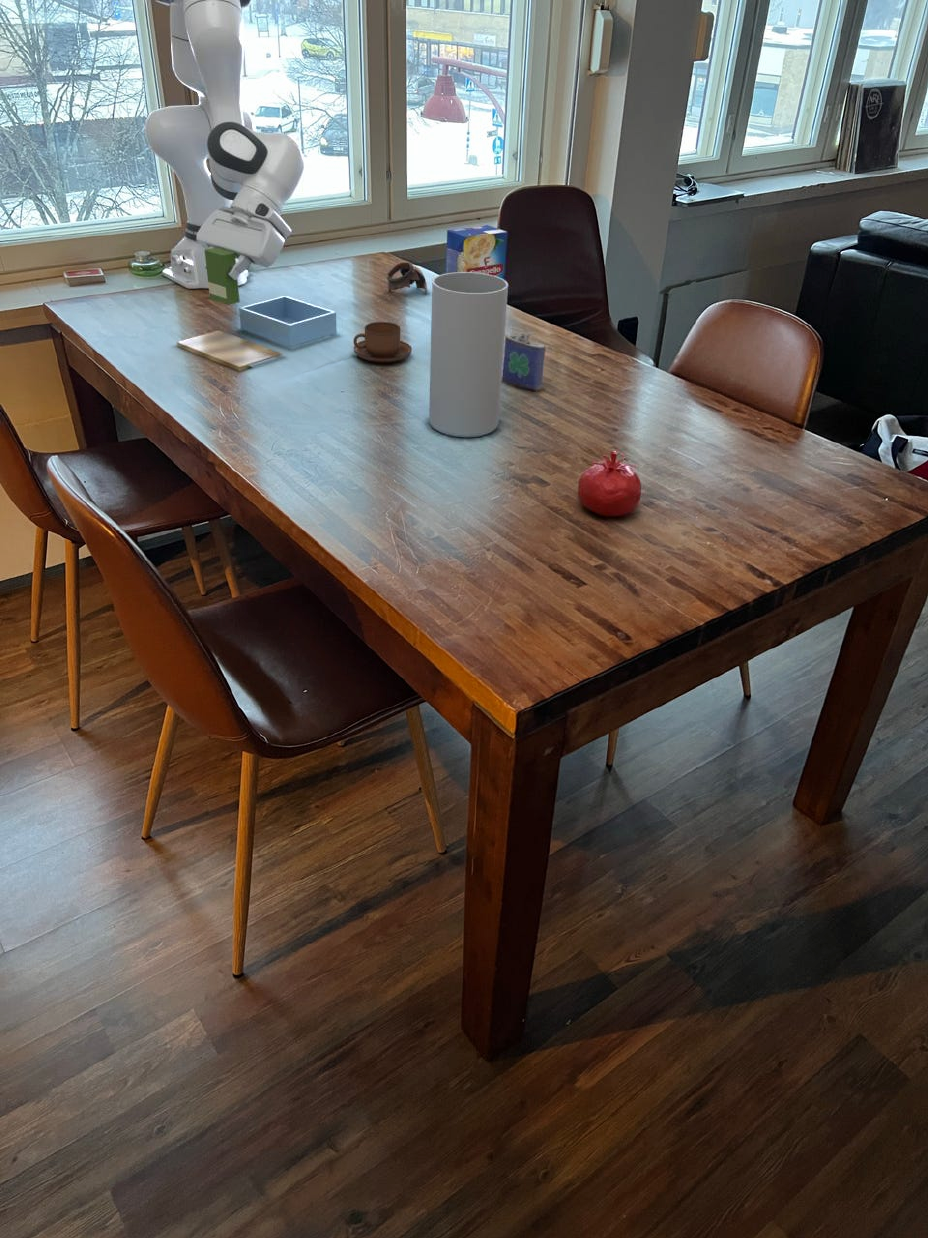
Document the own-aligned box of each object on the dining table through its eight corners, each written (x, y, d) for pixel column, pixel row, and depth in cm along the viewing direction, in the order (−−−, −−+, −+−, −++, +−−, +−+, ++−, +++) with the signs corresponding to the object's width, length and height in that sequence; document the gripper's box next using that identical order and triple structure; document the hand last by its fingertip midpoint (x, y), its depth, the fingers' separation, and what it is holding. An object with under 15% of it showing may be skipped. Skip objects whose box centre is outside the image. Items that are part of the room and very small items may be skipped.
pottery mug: (432, 299, 230) (418, 272, 224) (397, 314, 232) (382, 287, 226) (428, 273, 237) (414, 246, 231) (395, 288, 240) (380, 262, 234)
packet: (209, 299, 187) (203, 249, 181) (222, 295, 189) (216, 246, 183) (227, 305, 184) (222, 255, 178) (240, 301, 186) (235, 252, 180)
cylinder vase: (464, 405, 175) (470, 268, 160) (512, 426, 167) (523, 284, 153) (414, 422, 167) (416, 279, 153) (463, 445, 160) (470, 298, 146)
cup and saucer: (377, 371, 187) (376, 341, 183) (342, 354, 194) (341, 324, 191) (423, 359, 194) (423, 330, 190) (388, 343, 201) (388, 314, 197)
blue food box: (500, 334, 209) (507, 231, 196) (461, 342, 203) (466, 237, 190) (482, 326, 213) (487, 224, 200) (443, 333, 208) (446, 229, 195)
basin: (241, 332, 203) (238, 307, 200) (286, 319, 211) (285, 295, 208) (291, 350, 195) (290, 325, 192) (336, 336, 203) (336, 311, 200)
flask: (544, 389, 183) (548, 335, 177) (535, 393, 181) (539, 339, 175) (507, 377, 187) (510, 324, 181) (498, 381, 186) (501, 327, 179)
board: (177, 346, 194) (176, 341, 193) (219, 334, 201) (218, 330, 200) (240, 371, 184) (239, 366, 183) (282, 357, 191) (281, 353, 190)
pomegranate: (595, 528, 138) (603, 471, 133) (563, 498, 146) (570, 443, 140) (651, 517, 142) (662, 462, 136) (617, 489, 149) (626, 435, 144)
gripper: (209, 194, 186) (175, 253, 185) (278, 211, 176) (243, 274, 175) (229, 215, 191) (196, 272, 191) (297, 233, 181) (263, 294, 181)
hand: (219, 273), depth 183 cm, fingers closed on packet, 5 cm apart
